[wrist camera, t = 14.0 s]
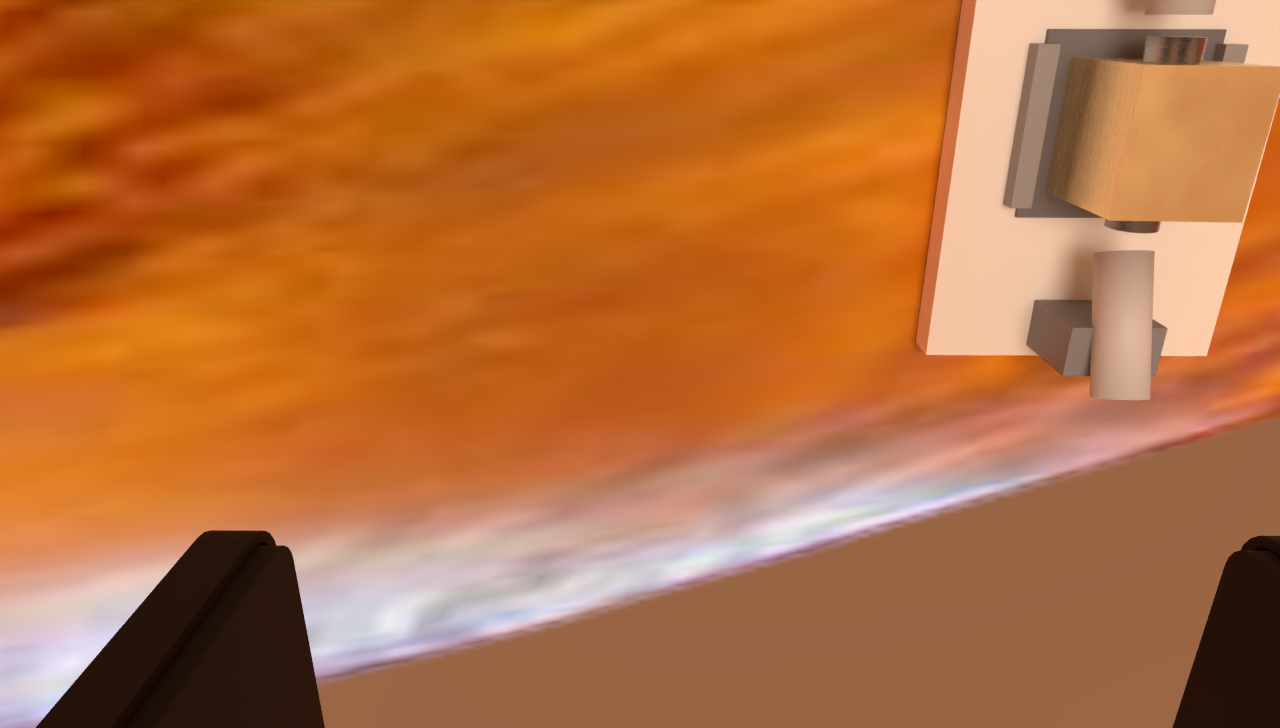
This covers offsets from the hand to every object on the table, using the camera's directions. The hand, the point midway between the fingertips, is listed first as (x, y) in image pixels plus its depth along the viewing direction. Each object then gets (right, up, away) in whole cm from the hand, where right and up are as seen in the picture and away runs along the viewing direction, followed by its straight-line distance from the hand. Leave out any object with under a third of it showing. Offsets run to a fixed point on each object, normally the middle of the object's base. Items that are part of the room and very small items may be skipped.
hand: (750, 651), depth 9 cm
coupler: (+17, +12, +24) cm, 32 cm away
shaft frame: (+17, +13, +25) cm, 33 cm away
